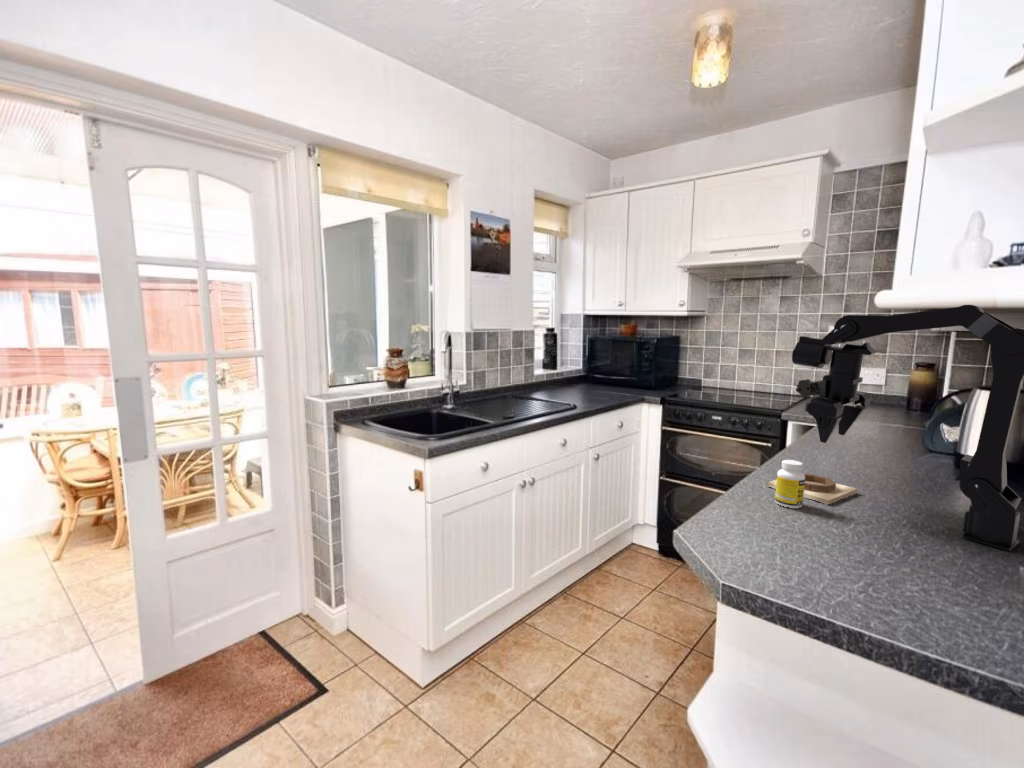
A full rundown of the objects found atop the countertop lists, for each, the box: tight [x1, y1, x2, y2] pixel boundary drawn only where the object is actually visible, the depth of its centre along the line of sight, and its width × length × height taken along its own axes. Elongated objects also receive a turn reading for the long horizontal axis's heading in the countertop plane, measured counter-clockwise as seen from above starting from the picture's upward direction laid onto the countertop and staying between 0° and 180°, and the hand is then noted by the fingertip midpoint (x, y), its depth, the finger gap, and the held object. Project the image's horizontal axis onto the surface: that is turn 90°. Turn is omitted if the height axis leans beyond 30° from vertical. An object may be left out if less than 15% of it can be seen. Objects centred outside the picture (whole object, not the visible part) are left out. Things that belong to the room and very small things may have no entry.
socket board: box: [766, 473, 858, 505], centre depth 118 cm, size 14×14×3 cm
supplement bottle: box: [774, 459, 805, 509], centre depth 109 cm, size 5×5×10 cm
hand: (832, 438), depth 112 cm, fingers open, 9 cm apart
